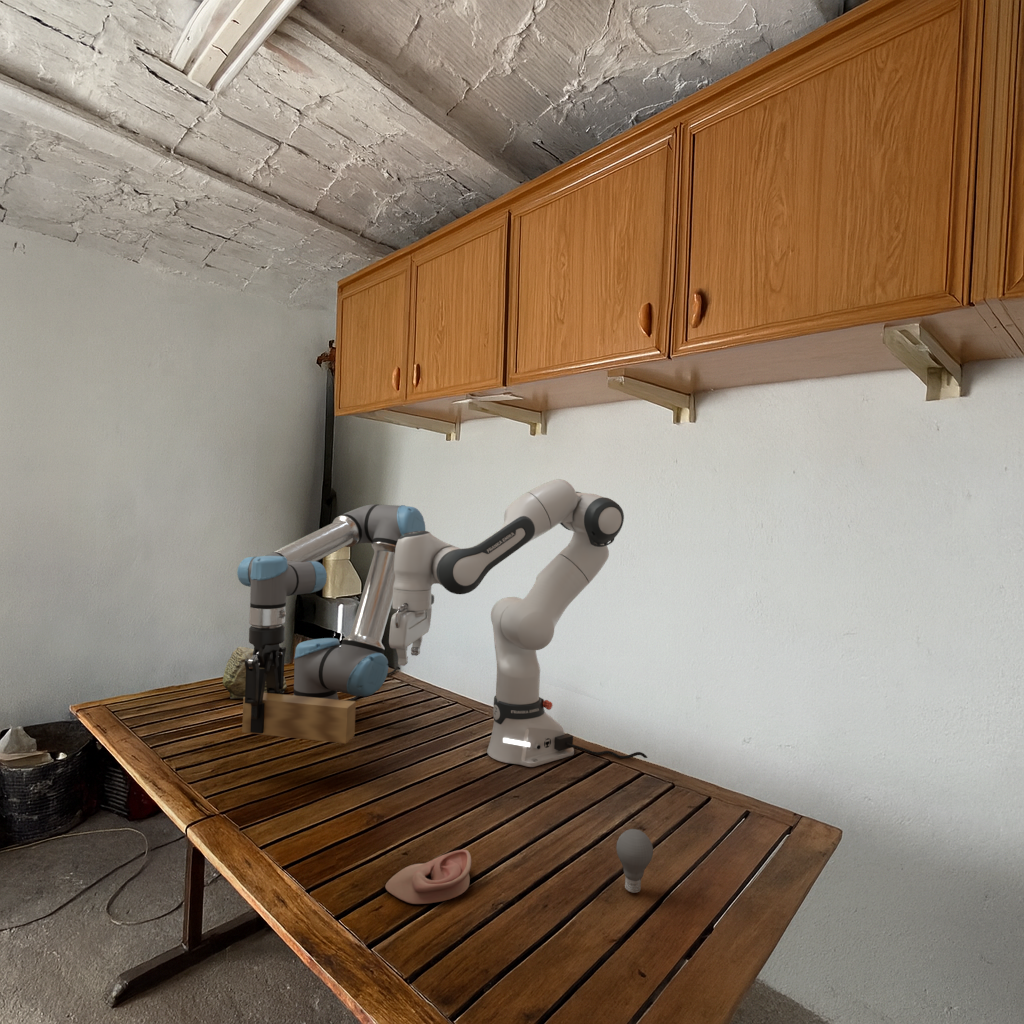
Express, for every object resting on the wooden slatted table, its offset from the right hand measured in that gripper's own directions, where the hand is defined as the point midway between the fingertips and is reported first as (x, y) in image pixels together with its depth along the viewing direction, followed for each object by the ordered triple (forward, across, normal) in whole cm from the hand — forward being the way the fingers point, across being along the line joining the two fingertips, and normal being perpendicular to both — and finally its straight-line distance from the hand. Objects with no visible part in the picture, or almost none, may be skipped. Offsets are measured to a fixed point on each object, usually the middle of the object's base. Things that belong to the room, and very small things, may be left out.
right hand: (409, 659), depth 148 cm
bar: (+16, -10, +22) cm, 29 cm away
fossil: (+26, +41, +62) cm, 79 cm away
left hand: (+16, -10, +30) cm, 35 cm away
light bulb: (+26, -35, -51) cm, 67 cm away
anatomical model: (+26, -41, -18) cm, 52 cm away
